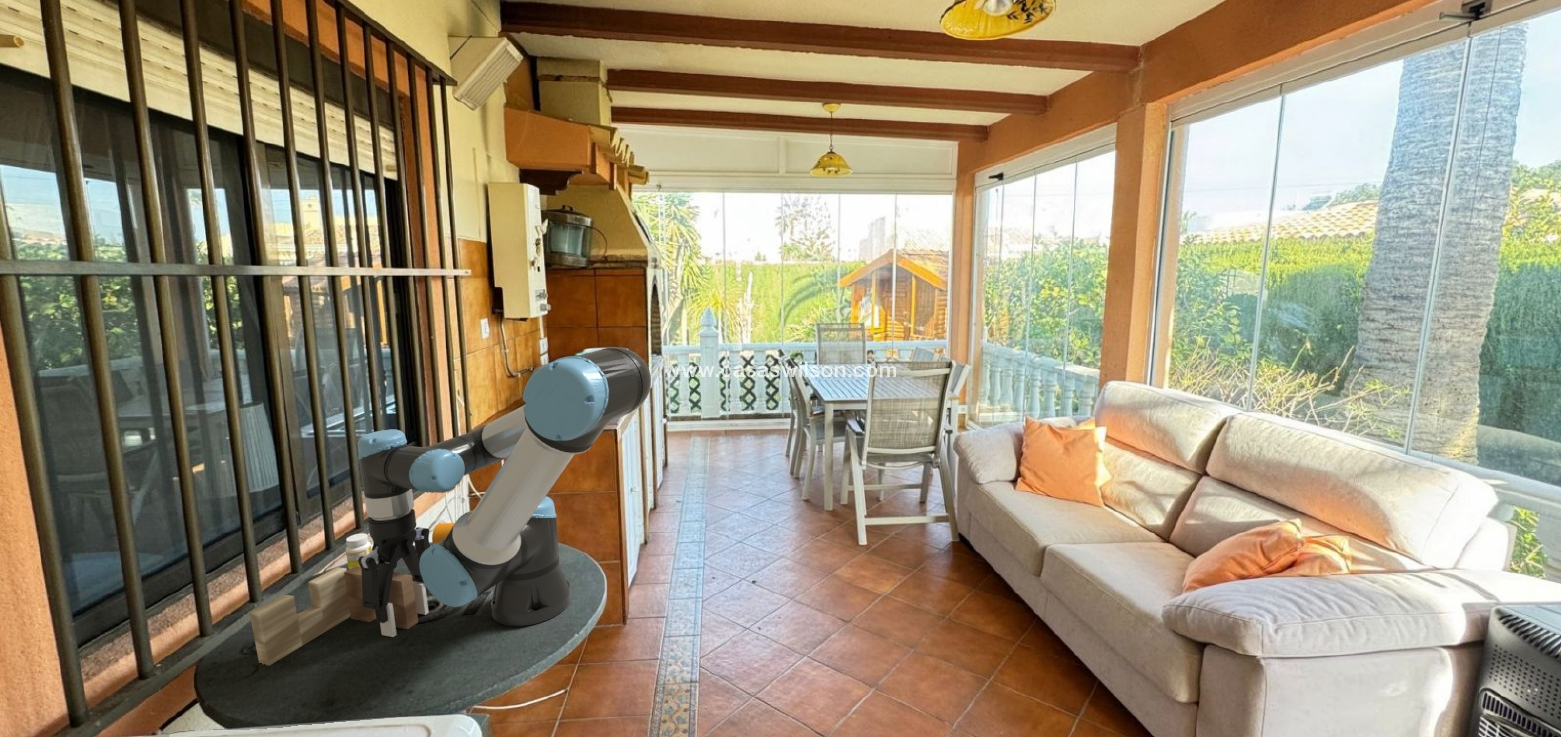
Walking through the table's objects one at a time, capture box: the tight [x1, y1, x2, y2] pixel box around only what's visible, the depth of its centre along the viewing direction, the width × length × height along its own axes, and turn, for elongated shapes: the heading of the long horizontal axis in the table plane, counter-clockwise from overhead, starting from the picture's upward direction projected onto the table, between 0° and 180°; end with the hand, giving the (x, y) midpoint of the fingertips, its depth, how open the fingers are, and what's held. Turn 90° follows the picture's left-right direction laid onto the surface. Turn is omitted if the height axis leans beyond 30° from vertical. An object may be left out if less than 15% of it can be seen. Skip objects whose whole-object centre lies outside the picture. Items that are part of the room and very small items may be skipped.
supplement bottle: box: [345, 533, 372, 570], centre depth 139 cm, size 5×5×8 cm
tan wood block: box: [344, 566, 419, 630], centre depth 120 cm, size 14×2×10 cm, turn 75°
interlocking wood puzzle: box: [249, 566, 351, 667], centre depth 115 cm, size 2×16×10 cm, turn 165°
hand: (405, 623), depth 119 cm, fingers open, 7 cm apart
